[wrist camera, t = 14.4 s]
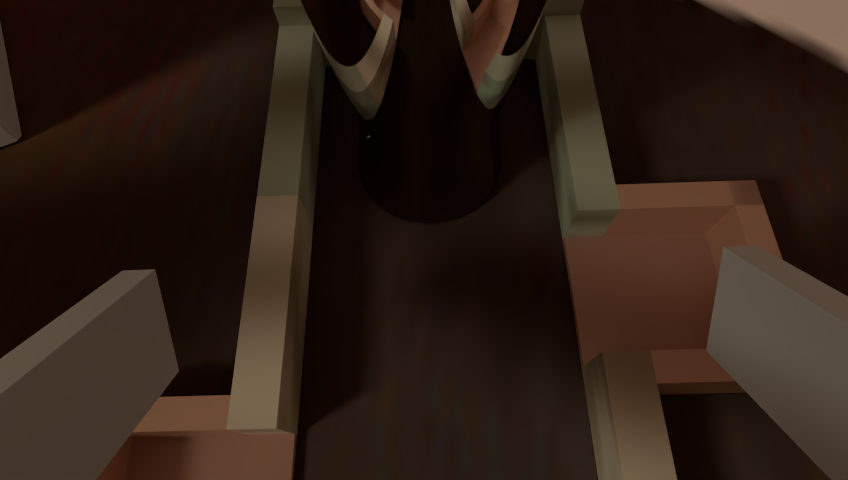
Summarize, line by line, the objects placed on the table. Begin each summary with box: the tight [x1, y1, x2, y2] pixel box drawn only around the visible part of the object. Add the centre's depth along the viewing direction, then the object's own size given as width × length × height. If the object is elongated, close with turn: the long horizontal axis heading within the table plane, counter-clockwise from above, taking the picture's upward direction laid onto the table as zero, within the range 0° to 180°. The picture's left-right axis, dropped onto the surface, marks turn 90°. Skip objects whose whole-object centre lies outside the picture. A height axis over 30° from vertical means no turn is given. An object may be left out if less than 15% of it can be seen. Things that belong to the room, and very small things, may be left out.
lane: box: [226, 0, 677, 480], centre depth 17 cm, size 31×13×4 cm, turn 1°
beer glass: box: [301, 0, 547, 223], centre depth 15 cm, size 7×7×15 cm
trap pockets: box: [96, 180, 783, 480], centre depth 17 cm, size 14×23×2 cm, turn 91°
